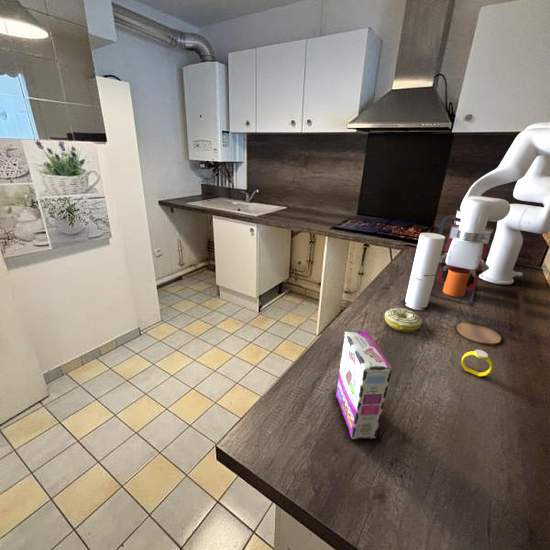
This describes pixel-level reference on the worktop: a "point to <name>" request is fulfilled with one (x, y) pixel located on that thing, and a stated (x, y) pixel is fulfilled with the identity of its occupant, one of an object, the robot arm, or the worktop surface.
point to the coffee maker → (469, 290)
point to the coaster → (478, 333)
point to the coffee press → (457, 218)
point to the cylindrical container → (424, 270)
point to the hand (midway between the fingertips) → (456, 282)
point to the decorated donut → (403, 320)
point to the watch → (480, 355)
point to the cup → (456, 281)
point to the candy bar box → (362, 384)
